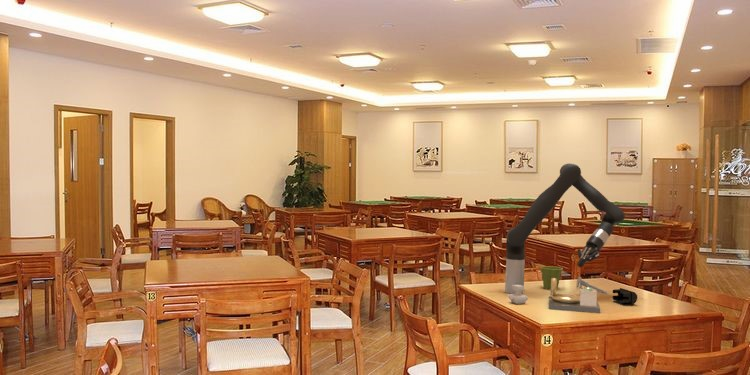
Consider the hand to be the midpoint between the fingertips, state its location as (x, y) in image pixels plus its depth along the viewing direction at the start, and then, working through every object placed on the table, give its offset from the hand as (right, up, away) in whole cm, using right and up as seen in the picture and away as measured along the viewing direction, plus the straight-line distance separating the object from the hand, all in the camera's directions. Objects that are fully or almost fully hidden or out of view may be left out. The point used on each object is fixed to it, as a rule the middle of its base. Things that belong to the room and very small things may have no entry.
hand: (579, 265), depth 310 cm
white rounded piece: (-32, -16, -10) cm, 38 cm away
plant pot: (-5, -16, +30) cm, 34 cm away
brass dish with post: (-10, -14, -12) cm, 21 cm away
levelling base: (-7, -17, -15) cm, 24 cm away
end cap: (+20, -18, -5) cm, 27 cm away
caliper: (+16, -17, +27) cm, 35 cm away
